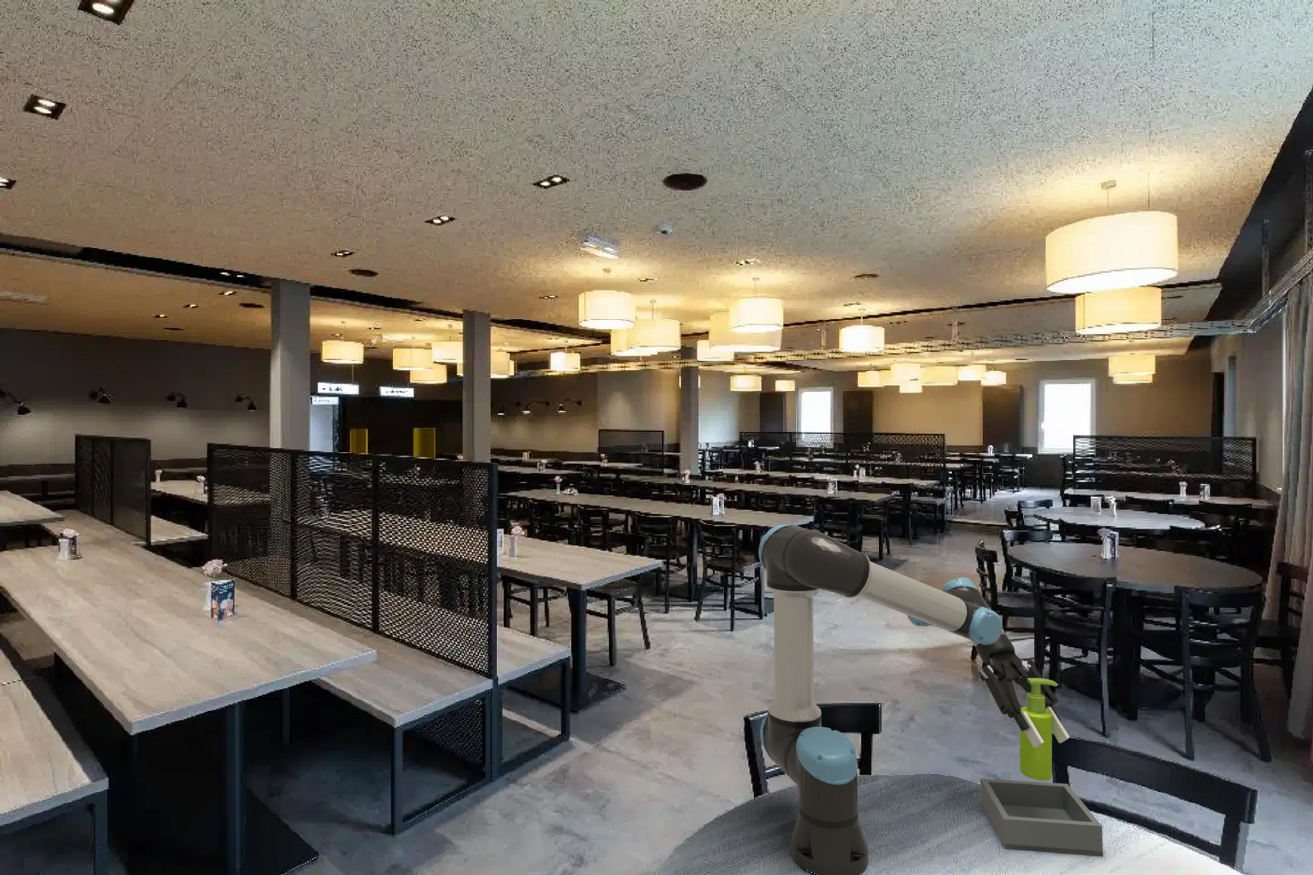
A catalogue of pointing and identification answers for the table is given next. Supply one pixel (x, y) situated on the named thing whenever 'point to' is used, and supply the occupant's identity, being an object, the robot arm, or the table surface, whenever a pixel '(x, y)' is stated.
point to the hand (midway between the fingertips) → (1051, 742)
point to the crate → (1040, 817)
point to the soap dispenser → (1039, 759)
